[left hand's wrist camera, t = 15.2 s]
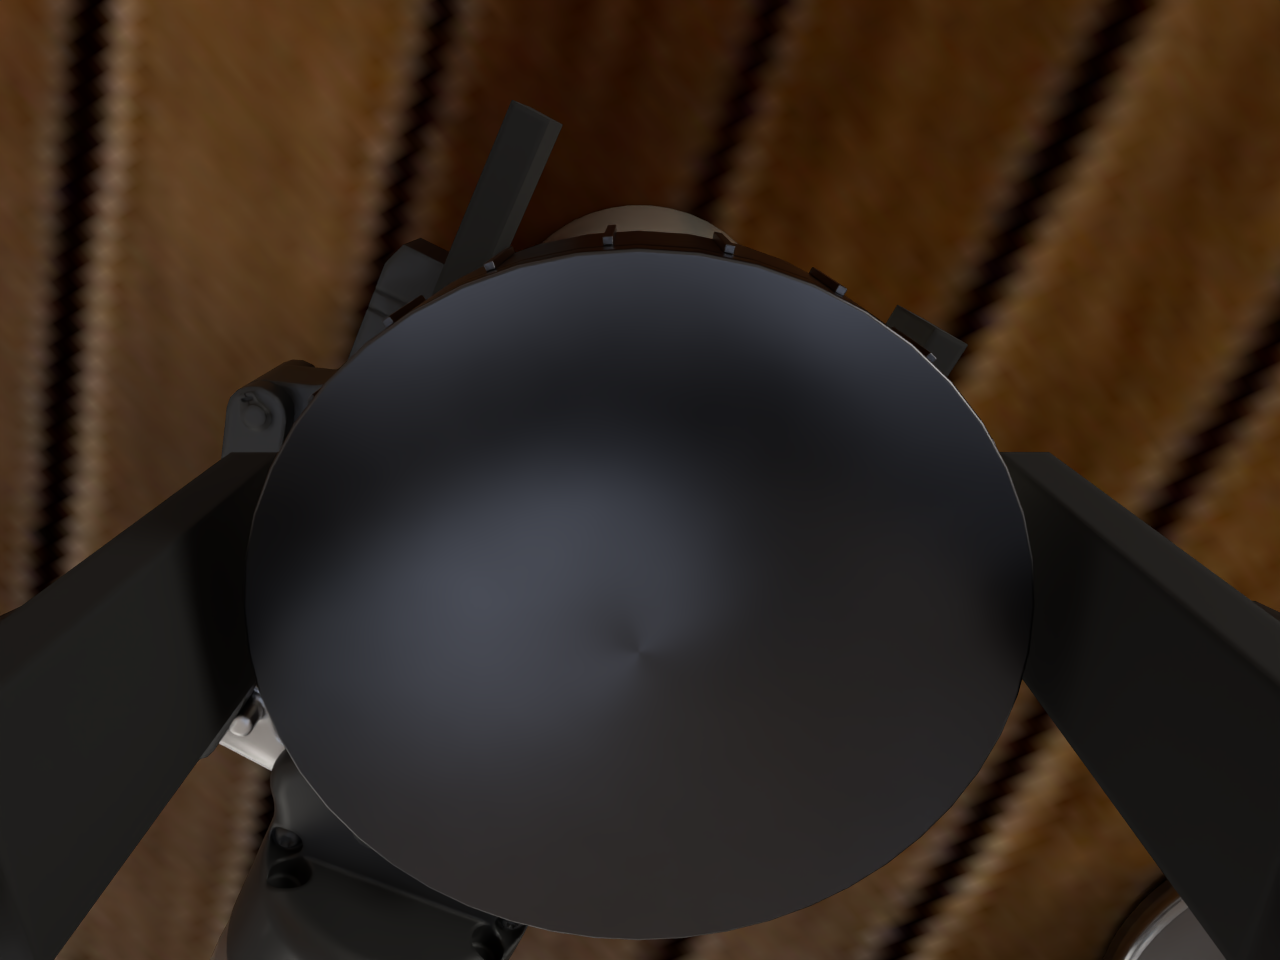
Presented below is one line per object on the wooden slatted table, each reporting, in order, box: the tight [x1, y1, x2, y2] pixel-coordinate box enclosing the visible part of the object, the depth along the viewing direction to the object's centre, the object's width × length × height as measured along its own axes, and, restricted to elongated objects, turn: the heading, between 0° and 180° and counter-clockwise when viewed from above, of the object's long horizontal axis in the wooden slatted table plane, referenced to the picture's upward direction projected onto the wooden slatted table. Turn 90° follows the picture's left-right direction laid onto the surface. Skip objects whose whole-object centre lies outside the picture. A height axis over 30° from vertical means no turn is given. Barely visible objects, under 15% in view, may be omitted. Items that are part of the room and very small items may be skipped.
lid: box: [243, 225, 1035, 940], centre depth 11 cm, size 9×9×2 cm
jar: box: [541, 205, 738, 244], centre depth 18 cm, size 8×8×15 cm
